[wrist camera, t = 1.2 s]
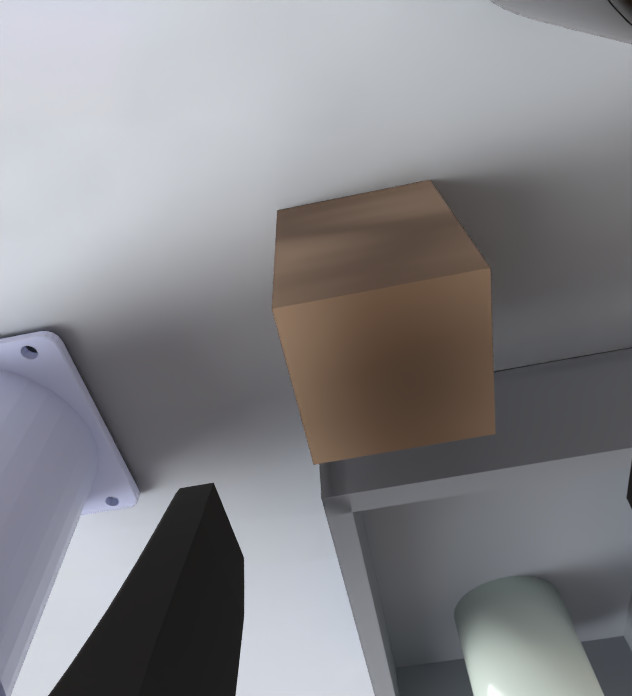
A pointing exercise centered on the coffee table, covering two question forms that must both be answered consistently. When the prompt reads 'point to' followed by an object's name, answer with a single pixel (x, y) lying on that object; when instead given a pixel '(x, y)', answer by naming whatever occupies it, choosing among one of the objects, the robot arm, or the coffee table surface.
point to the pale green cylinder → (522, 641)
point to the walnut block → (384, 322)
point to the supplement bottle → (579, 15)
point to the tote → (494, 525)
